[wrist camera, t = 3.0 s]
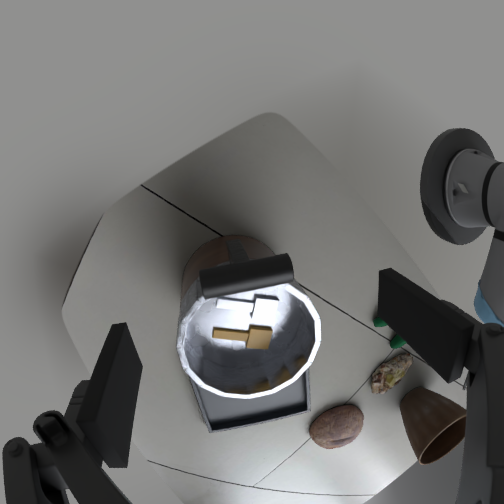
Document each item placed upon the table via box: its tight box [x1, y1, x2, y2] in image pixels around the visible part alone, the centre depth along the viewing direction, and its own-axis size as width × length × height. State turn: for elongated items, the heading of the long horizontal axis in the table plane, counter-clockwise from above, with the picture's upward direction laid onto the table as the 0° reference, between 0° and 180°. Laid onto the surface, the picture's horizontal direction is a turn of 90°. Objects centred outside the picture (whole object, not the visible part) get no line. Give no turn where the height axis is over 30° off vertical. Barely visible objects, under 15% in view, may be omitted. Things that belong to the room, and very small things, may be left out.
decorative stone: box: [309, 405, 364, 449], centre depth 56 cm, size 12×12×6 cm
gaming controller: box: [373, 317, 406, 349], centre depth 51 cm, size 9×4×6 cm
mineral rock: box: [371, 353, 413, 394], centre depth 55 cm, size 11×4×8 cm
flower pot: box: [400, 387, 466, 465], centre depth 54 cm, size 15×15×16 cm
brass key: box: [212, 326, 273, 349], centre depth 35 cm, size 7×3×1 cm, turn 79°
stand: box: [180, 235, 275, 307], centre depth 40 cm, size 14×14×10 cm
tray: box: [189, 367, 311, 433], centre depth 50 cm, size 17×19×2 cm
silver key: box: [216, 296, 279, 321], centre depth 34 cm, size 7×3×1 cm, turn 79°
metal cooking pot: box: [176, 239, 321, 399], centre depth 29 cm, size 18×14×13 cm
